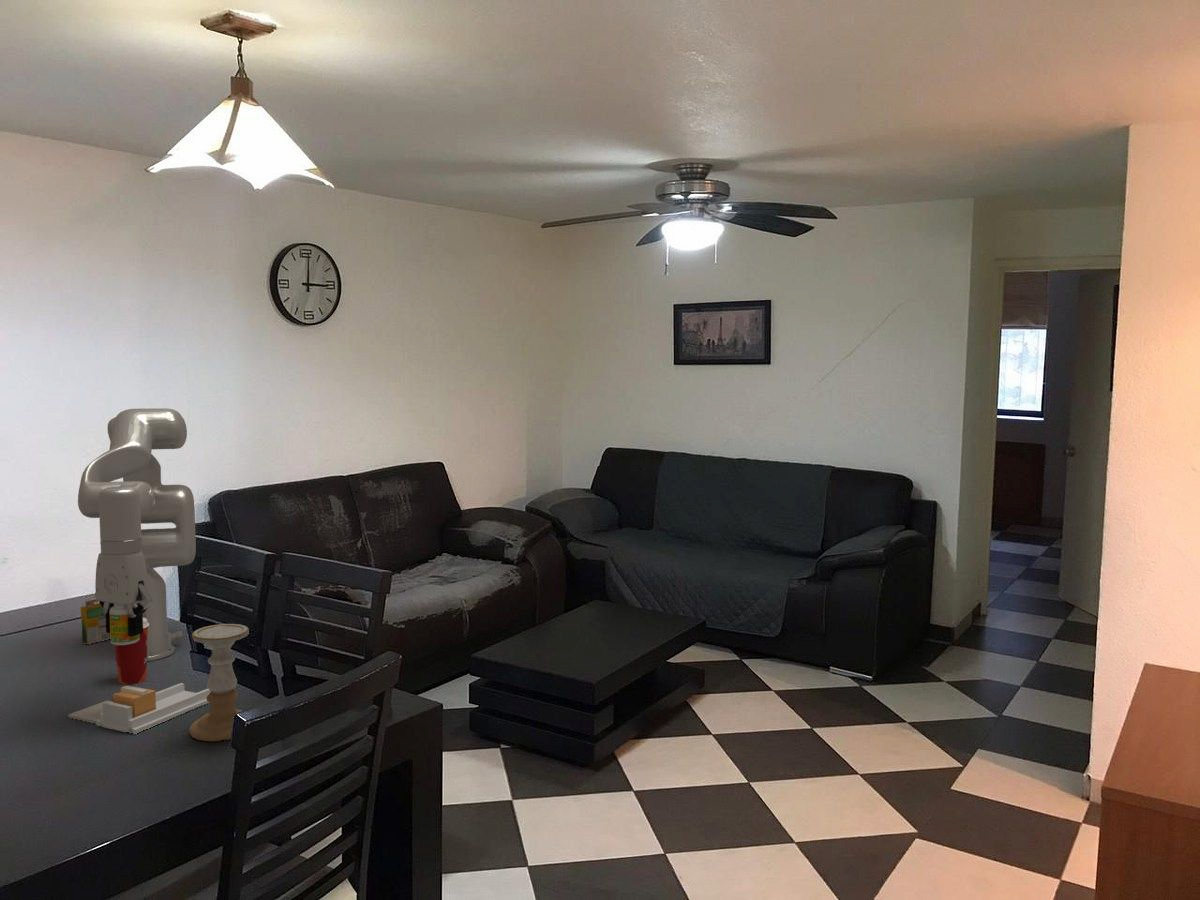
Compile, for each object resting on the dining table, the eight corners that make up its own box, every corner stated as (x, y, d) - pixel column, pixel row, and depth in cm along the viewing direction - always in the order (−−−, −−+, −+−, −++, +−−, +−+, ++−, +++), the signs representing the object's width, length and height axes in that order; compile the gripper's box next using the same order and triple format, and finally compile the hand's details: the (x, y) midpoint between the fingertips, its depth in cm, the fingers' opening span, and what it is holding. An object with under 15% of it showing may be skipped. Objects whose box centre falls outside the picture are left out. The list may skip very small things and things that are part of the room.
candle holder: (191, 746, 174) (188, 643, 172) (187, 724, 185) (184, 626, 183) (260, 735, 180) (257, 634, 178) (252, 714, 191) (249, 619, 189)
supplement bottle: (106, 646, 187) (104, 599, 186) (116, 638, 192) (114, 592, 191) (133, 645, 187) (132, 599, 187) (143, 637, 193) (142, 592, 192)
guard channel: (178, 693, 202) (177, 671, 202) (215, 701, 198) (214, 678, 197) (96, 725, 184) (95, 701, 183) (135, 734, 179) (134, 709, 179)
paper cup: (158, 678, 212) (156, 618, 211) (129, 688, 205) (127, 627, 204) (135, 673, 216) (133, 614, 214) (105, 682, 209) (103, 622, 207)
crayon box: (110, 636, 244) (108, 594, 243) (115, 638, 242) (114, 595, 241) (81, 643, 238) (79, 599, 237) (87, 645, 236) (85, 601, 235)
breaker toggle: (135, 710, 189) (134, 682, 189) (156, 714, 187) (155, 686, 186) (113, 718, 184) (112, 690, 184) (135, 723, 182) (134, 694, 182)
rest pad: (107, 703, 196) (106, 700, 196) (137, 709, 192) (137, 706, 192) (68, 717, 188) (67, 714, 188) (98, 724, 184) (98, 721, 184)
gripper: (74, 546, 188) (78, 633, 189) (137, 554, 181) (140, 643, 183) (106, 540, 194) (109, 623, 196) (167, 547, 188) (170, 633, 190)
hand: (124, 632), depth 190 cm, fingers closed on supplement bottle, 5 cm apart
